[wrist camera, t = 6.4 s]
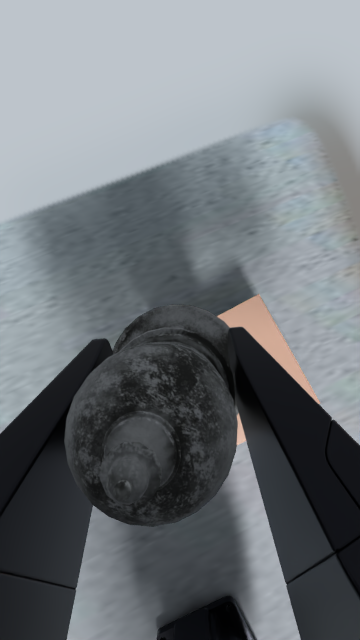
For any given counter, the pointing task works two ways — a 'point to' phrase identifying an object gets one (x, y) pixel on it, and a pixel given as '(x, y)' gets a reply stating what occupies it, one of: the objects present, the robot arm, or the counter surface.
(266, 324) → the peach and grey block
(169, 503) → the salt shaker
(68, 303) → the counter surface
